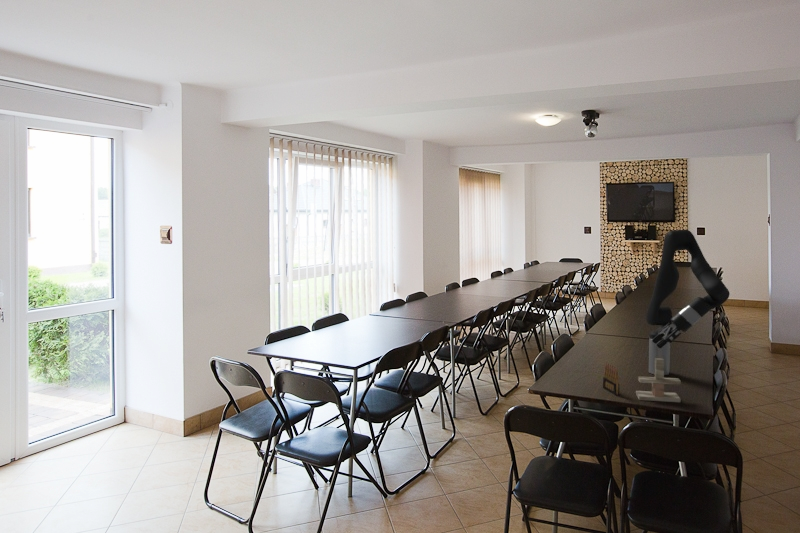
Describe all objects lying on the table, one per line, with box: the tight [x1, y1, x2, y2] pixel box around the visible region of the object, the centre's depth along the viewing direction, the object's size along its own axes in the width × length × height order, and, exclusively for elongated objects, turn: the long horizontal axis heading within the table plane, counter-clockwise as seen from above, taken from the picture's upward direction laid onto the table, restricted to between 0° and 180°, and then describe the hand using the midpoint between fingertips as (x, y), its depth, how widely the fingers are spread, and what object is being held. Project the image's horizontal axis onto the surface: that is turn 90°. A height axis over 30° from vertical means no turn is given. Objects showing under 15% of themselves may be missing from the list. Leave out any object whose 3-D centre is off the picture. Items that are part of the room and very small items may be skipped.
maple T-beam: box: [637, 358, 682, 386], centre depth 233 cm, size 4×16×10 cm, turn 76°
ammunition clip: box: [602, 362, 620, 396], centre depth 244 cm, size 11×2×12 cm, turn 9°
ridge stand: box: [635, 383, 682, 403], centre depth 234 cm, size 8×16×7 cm, turn 77°
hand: (655, 344), depth 232 cm, fingers open, 8 cm apart
